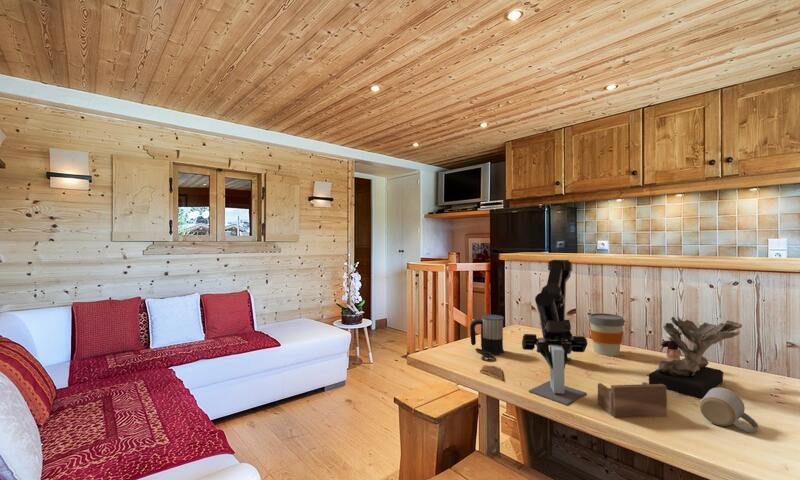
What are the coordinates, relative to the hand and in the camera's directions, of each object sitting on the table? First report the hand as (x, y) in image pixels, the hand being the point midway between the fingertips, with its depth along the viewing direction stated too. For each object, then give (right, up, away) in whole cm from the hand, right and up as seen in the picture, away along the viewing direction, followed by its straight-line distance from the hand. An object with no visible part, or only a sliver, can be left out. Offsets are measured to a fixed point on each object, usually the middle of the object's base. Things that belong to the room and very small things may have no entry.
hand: (558, 368), depth 110 cm
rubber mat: (0, -8, +1) cm, 8 cm away
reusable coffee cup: (+37, -8, +40) cm, 55 cm away
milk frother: (-11, -8, +39) cm, 42 cm away
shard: (-14, -9, +18) cm, 24 cm away
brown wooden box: (+16, -8, -10) cm, 20 cm away
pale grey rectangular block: (0, -7, +1) cm, 7 cm away
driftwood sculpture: (+48, -8, +6) cm, 49 cm away
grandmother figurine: (+53, -8, +24) cm, 58 cm away
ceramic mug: (+36, -8, -18) cm, 41 cm away
